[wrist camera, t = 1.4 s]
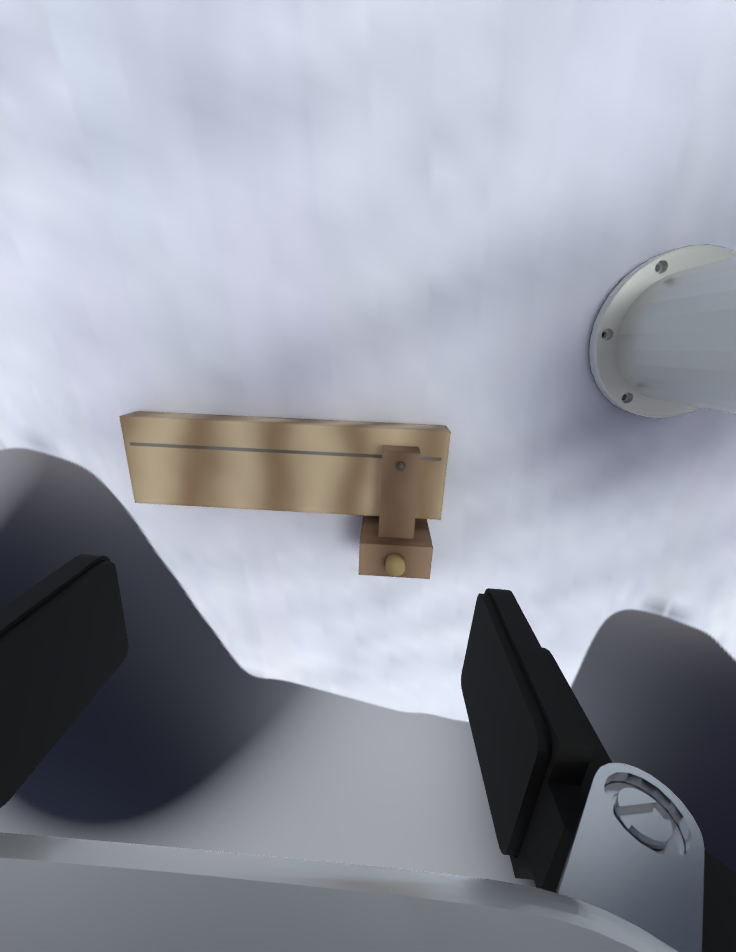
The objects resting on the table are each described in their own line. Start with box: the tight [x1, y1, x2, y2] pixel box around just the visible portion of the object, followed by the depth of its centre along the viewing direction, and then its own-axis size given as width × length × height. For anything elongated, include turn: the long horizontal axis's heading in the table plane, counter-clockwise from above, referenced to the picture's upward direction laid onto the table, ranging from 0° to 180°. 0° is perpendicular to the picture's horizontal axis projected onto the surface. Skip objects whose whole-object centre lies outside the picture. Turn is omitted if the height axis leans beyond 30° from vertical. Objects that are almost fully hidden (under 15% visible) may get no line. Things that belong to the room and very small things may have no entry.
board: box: [120, 411, 450, 520], centre depth 34 cm, size 28×8×2 cm, turn 88°
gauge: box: [359, 445, 433, 579], centre depth 33 cm, size 6×11×7 cm, turn 178°
